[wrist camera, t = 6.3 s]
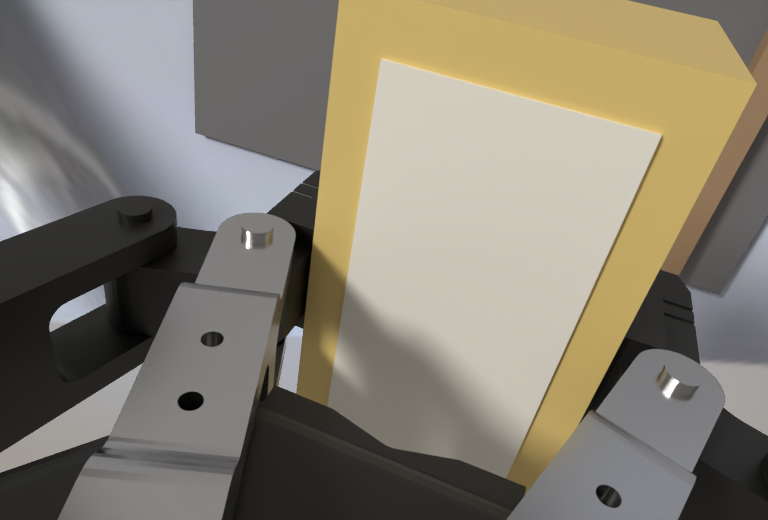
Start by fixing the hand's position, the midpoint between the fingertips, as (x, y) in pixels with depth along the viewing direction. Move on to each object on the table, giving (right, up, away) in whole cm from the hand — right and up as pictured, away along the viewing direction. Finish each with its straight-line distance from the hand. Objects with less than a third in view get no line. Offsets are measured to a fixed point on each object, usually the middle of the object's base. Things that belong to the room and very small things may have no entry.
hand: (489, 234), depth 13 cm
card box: (0, 0, 0) cm, 0 cm away
